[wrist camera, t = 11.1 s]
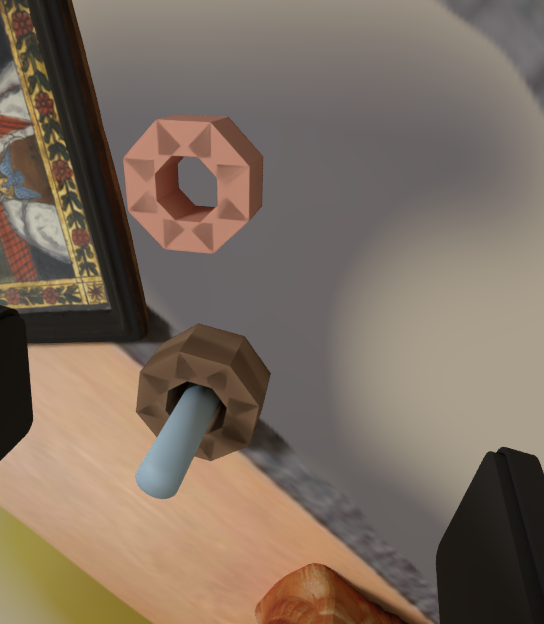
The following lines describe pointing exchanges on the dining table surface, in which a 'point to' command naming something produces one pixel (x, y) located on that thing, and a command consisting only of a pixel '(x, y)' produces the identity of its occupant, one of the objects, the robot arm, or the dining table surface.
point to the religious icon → (60, 188)
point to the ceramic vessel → (319, 601)
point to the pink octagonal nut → (165, 189)
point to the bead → (211, 373)
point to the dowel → (177, 442)
